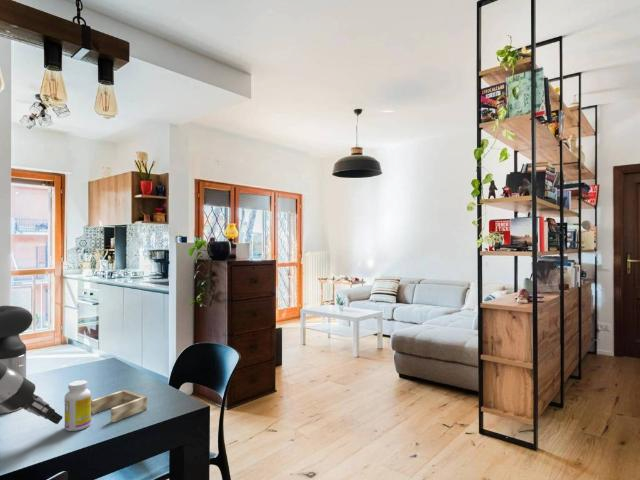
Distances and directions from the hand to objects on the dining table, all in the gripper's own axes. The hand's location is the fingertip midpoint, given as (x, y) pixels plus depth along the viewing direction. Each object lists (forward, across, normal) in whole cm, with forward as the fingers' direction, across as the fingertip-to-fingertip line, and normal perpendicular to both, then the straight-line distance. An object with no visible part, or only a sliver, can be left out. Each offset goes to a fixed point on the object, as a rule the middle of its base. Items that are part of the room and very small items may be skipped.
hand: (59, 420), depth 113 cm
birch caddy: (+15, -2, +10) cm, 18 cm away
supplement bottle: (+7, -1, +1) cm, 7 cm away
